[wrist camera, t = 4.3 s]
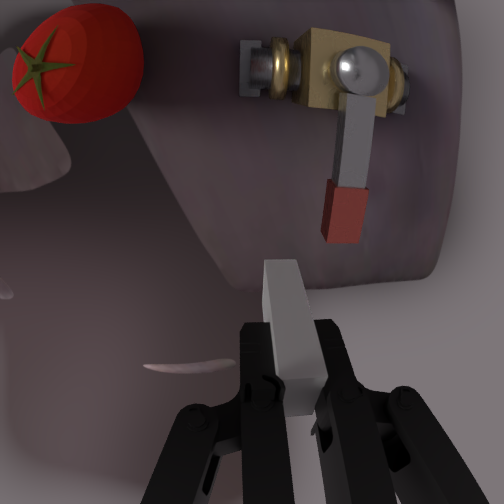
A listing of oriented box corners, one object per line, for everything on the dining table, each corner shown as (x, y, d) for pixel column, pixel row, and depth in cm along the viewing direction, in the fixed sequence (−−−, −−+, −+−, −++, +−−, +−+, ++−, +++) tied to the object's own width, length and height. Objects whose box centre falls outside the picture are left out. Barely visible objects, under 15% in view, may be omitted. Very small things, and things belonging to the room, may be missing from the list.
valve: (239, 100, 27) (238, 103, 20) (240, 39, 23) (240, 22, 17) (394, 116, 28) (433, 128, 21) (398, 62, 24) (438, 60, 17)
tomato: (57, 56, 22) (-25, 60, 10) (134, -1, 19) (72, -42, 7) (98, 135, 28) (23, 172, 16) (181, 82, 26) (135, 78, 14)
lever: (330, 45, 17) (340, 41, 15) (375, 55, 18) (390, 52, 15) (314, 229, 26) (321, 244, 24) (354, 230, 26) (364, 244, 24)
